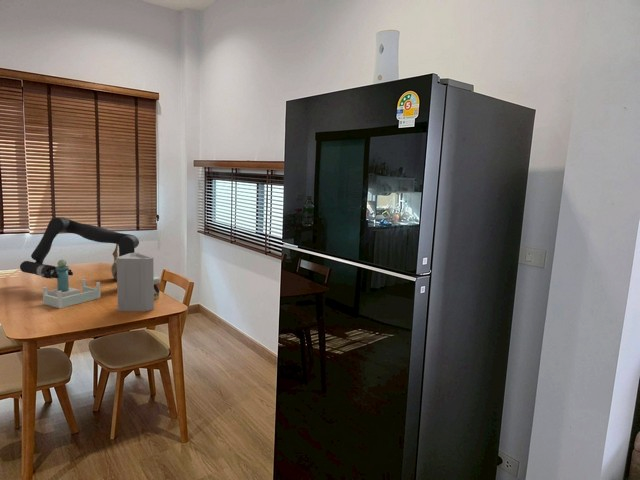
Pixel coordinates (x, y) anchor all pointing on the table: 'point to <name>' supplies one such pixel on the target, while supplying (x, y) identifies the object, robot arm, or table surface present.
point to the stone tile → (64, 294)
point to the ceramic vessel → (115, 263)
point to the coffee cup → (156, 287)
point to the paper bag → (135, 282)
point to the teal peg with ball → (62, 276)
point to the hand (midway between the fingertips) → (64, 275)
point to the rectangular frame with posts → (72, 296)
